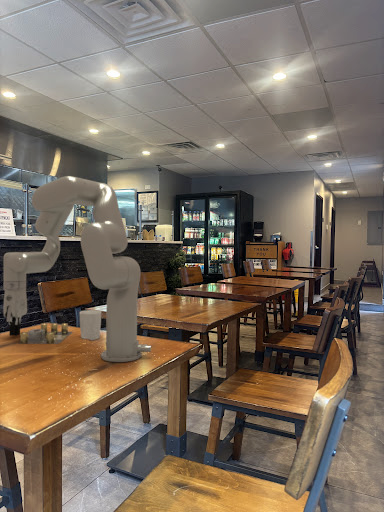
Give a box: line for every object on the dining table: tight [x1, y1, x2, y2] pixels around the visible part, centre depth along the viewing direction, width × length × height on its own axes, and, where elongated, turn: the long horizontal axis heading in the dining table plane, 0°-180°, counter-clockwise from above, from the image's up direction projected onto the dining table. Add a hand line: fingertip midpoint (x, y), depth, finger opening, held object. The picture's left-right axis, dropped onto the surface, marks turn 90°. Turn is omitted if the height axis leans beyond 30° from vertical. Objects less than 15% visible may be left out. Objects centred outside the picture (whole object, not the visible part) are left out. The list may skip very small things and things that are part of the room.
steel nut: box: [27, 328, 45, 339], centre depth 137 cm, size 5×6×2 cm
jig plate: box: [18, 322, 74, 345], centre depth 137 cm, size 14×18×4 cm
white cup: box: [79, 309, 102, 341], centre depth 139 cm, size 8×8×10 cm
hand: (14, 335), depth 137 cm, fingers closed
